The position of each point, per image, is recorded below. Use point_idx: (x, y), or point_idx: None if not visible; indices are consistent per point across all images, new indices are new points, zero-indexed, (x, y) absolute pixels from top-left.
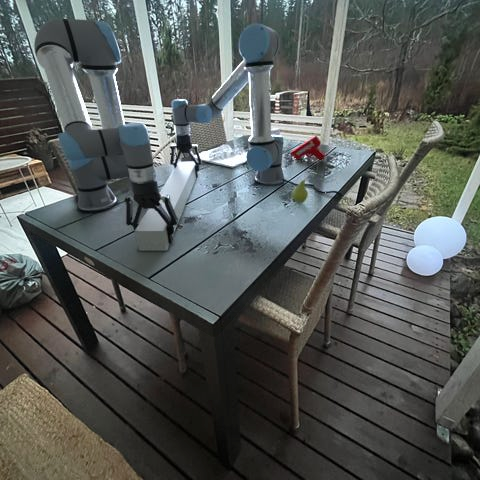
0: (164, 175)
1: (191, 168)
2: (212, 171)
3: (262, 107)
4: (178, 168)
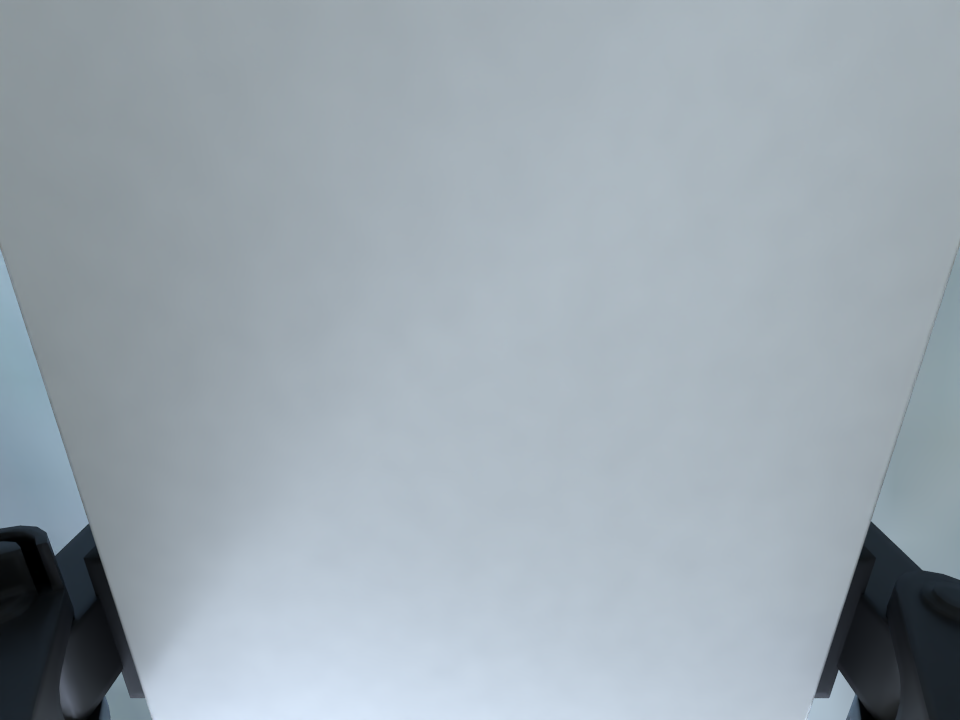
0: (951, 544)
1: (23, 55)
2: (112, 698)
3: None
4: (811, 64)
